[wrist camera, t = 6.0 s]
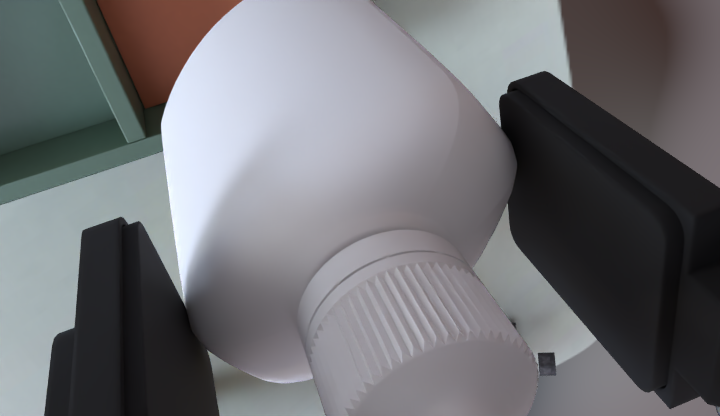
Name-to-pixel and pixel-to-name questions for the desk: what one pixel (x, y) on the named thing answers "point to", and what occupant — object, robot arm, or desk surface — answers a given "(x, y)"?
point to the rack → (89, 83)
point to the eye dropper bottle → (342, 213)
